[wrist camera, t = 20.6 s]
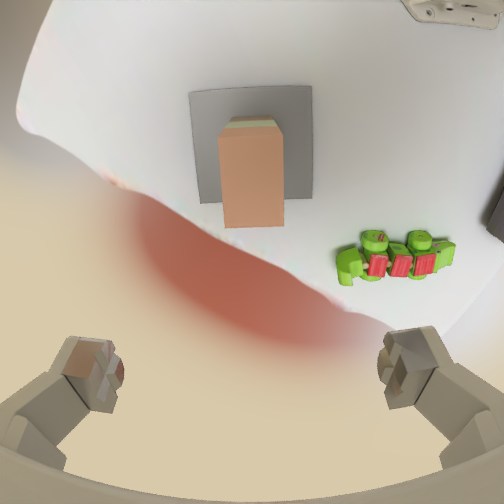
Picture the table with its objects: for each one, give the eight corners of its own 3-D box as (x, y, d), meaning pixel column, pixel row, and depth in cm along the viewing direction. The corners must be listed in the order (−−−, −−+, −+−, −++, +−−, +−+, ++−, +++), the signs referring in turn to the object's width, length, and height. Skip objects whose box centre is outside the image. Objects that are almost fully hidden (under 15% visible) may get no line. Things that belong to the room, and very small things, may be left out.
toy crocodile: (449, 229, 42) (469, 248, 36) (440, 265, 45) (457, 286, 40) (332, 230, 42) (342, 252, 37) (328, 270, 45) (336, 296, 40)
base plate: (309, 86, 32) (320, 86, 27) (310, 195, 39) (319, 214, 34) (190, 92, 33) (178, 93, 28) (201, 200, 40) (193, 219, 35)
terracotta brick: (277, 126, 25) (283, 134, 21) (279, 202, 28) (283, 226, 24) (224, 128, 25) (217, 137, 21) (229, 204, 28) (224, 228, 24)
